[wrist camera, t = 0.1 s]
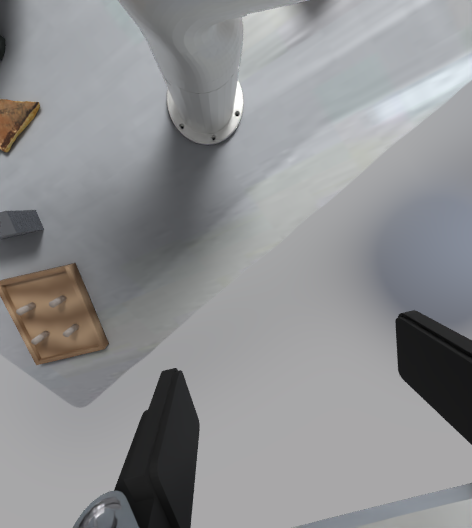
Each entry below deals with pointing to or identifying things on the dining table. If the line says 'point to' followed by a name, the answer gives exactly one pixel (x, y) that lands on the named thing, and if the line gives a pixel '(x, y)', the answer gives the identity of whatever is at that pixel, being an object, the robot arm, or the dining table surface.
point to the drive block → (19, 223)
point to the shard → (14, 120)
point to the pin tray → (53, 313)
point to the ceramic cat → (2, 47)
